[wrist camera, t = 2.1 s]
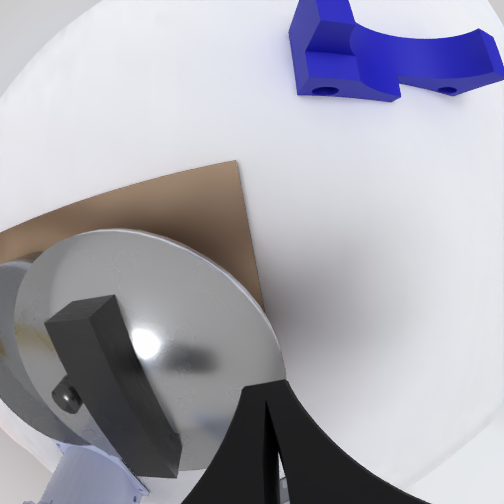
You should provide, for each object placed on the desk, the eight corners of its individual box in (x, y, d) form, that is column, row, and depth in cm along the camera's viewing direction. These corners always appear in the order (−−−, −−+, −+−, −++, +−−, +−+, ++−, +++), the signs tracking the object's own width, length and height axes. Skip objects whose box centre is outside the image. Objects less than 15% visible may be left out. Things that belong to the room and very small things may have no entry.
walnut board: (281, 403, 18) (283, 412, 17) (33, 406, 18) (28, 412, 17) (236, 162, 14) (236, 160, 13) (-32, 249, 14) (-40, 252, 13)
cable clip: (296, 96, 14) (326, 49, 8) (287, 33, 13) (308, -26, 7) (454, 115, 14) (513, 102, 8) (442, 61, 13) (493, 36, 7)
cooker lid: (297, 448, 12) (306, 488, 9) (91, 452, 12) (77, 483, 9) (253, 193, 9) (259, 194, 6) (-6, 261, 9) (-44, 277, 6)
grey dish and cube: (249, 397, 16) (252, 449, 12) (43, 400, 16) (19, 431, 12) (203, 207, 14) (187, 215, 9) (-14, 267, 14) (-53, 284, 9)
